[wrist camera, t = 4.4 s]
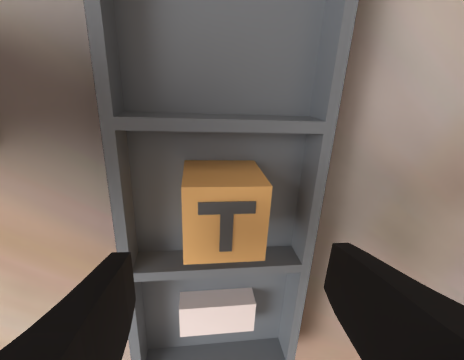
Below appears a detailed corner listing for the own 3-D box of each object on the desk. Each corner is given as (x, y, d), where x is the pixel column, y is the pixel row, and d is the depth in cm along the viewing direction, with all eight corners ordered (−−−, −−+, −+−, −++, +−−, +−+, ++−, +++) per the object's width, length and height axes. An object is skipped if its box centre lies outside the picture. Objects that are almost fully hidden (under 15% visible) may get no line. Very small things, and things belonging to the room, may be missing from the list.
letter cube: (185, 222, 16) (183, 265, 13) (184, 160, 15) (181, 188, 11) (249, 220, 17) (265, 261, 13) (254, 160, 16) (272, 187, 12)
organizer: (141, 350, 20) (134, 384, 18) (89, -105, 11) (63, -152, 9) (283, 337, 22) (293, 367, 20) (344, -73, 12) (377, -105, 10)
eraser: (181, 318, 19) (179, 337, 18) (180, 292, 18) (178, 309, 17) (249, 313, 20) (253, 330, 18) (251, 287, 19) (256, 304, 18)
